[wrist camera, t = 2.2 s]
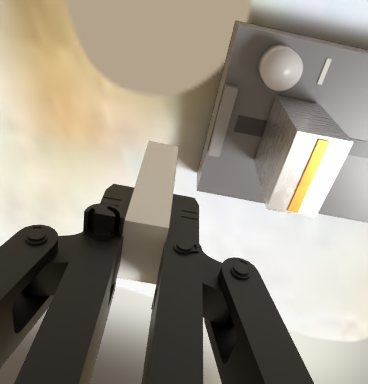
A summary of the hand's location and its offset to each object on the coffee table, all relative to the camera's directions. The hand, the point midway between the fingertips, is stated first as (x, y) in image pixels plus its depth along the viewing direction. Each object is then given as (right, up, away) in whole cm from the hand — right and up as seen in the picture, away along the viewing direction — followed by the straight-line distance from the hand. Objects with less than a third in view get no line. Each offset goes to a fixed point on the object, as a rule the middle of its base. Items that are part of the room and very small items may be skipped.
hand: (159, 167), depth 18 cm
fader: (+8, +3, +6) cm, 11 cm away
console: (+14, +3, +9) cm, 17 cm away
